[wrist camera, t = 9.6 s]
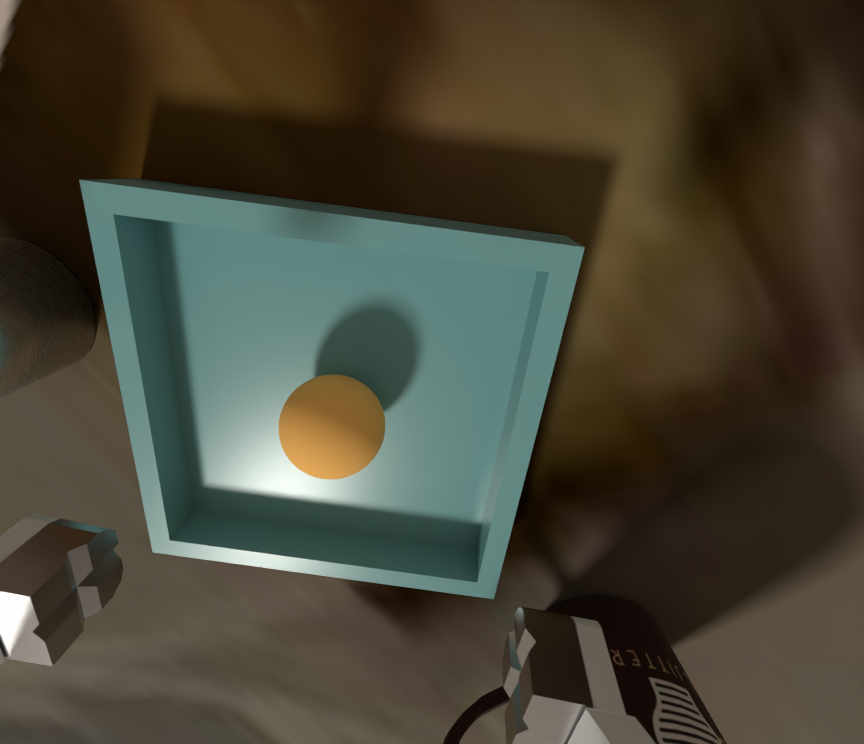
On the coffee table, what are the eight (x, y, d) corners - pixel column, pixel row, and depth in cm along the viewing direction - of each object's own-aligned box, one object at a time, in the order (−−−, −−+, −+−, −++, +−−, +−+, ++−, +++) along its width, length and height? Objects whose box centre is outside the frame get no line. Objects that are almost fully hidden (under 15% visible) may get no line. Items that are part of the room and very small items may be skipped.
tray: (565, 235, 14) (584, 247, 12) (490, 550, 20) (493, 598, 18) (139, 178, 14) (78, 179, 12) (187, 509, 20) (152, 552, 18)
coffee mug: (716, 651, 22) (896, 988, 13) (570, 710, 25) (634, 1024, 16) (582, 509, 19) (696, 822, 10) (433, 595, 22) (412, 903, 12)
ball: (389, 364, 16) (389, 403, 13) (382, 448, 17) (379, 504, 14) (291, 356, 16) (264, 395, 12) (290, 442, 17) (266, 499, 14)
